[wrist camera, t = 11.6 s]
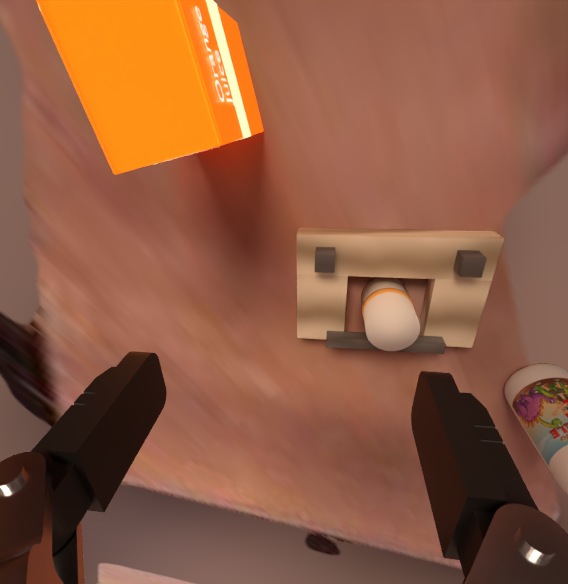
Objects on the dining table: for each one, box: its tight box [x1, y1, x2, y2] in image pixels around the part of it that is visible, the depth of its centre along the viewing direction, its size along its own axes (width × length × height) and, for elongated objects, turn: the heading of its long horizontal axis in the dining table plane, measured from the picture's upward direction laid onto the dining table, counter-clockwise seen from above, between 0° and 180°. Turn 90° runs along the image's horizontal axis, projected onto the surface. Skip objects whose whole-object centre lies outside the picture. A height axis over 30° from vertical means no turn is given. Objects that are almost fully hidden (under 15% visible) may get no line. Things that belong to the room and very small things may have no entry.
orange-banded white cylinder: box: [361, 277, 420, 351], centre depth 37 cm, size 5×5×7 cm
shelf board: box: [297, 228, 504, 354], centre depth 37 cm, size 13×20×4 cm, turn 91°
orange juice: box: [36, 0, 264, 175], centre depth 23 cm, size 8×9×20 cm
